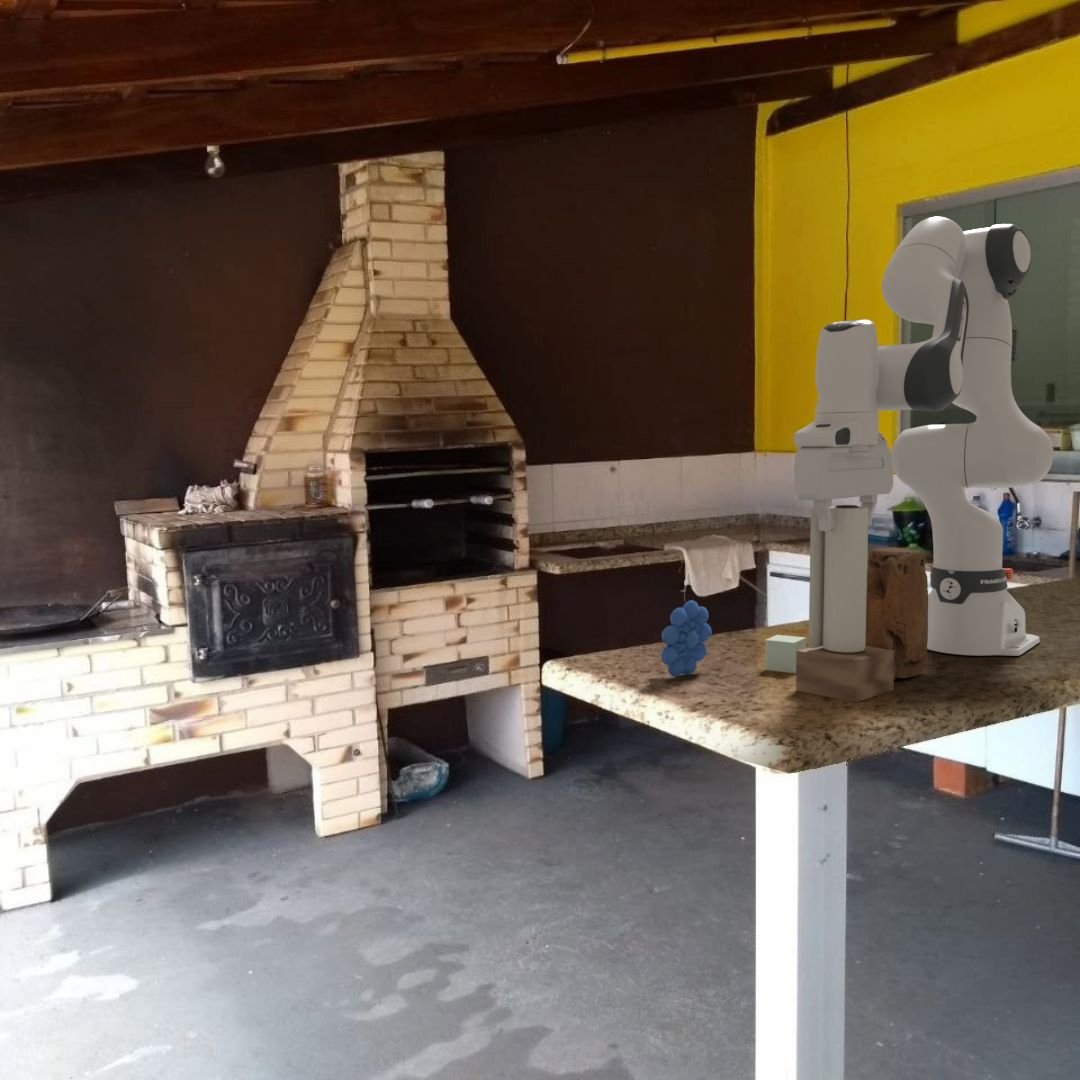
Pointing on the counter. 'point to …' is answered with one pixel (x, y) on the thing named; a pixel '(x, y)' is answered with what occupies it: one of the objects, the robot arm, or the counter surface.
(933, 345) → the robot arm
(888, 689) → the walnut block
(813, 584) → the paper towel roll
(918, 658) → the block
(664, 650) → the grapes
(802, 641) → the green cube
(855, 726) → the counter surface
